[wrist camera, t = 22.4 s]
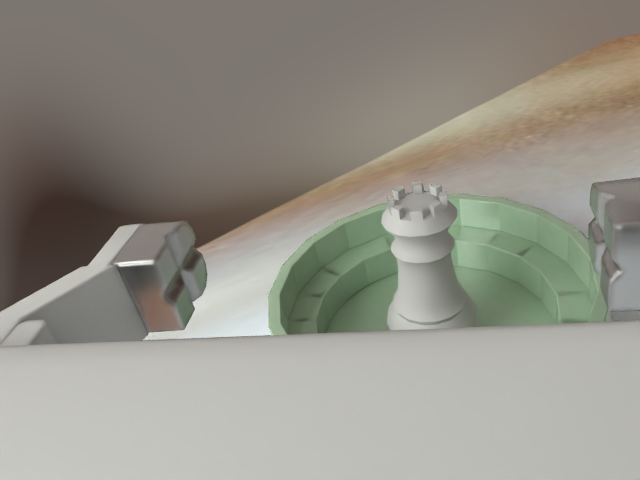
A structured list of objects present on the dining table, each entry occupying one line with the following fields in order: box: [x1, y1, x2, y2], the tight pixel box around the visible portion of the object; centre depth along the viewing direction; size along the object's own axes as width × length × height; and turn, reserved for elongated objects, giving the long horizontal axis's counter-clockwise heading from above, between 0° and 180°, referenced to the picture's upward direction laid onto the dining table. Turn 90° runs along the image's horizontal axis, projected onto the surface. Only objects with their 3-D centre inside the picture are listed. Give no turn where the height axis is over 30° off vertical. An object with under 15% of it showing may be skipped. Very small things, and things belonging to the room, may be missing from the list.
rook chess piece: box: [381, 182, 479, 330], centre depth 27 cm, size 4×4×8 cm
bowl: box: [268, 194, 612, 335], centre depth 29 cm, size 15×15×4 cm
